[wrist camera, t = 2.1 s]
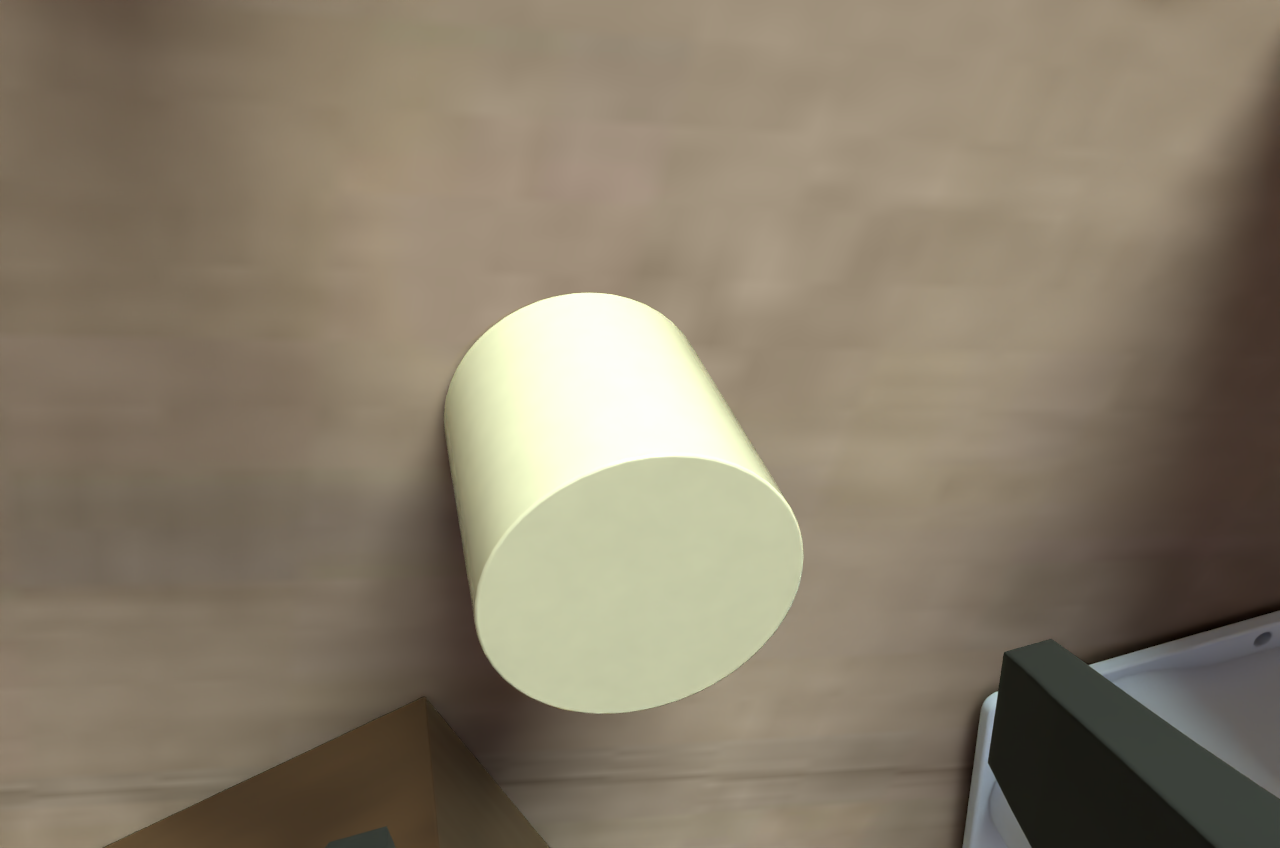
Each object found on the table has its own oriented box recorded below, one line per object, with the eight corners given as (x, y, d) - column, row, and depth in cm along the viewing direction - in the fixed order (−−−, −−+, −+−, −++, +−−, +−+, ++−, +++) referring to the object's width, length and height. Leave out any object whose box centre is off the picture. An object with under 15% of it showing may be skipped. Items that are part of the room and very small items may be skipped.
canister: (693, 266, 17) (802, 418, 13) (711, 484, 20) (806, 668, 16) (415, 324, 17) (440, 504, 12) (472, 542, 19) (508, 749, 15)
